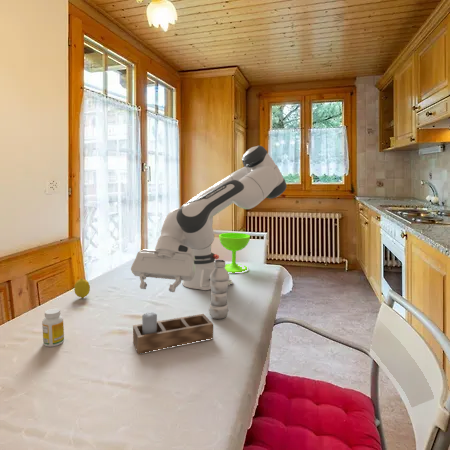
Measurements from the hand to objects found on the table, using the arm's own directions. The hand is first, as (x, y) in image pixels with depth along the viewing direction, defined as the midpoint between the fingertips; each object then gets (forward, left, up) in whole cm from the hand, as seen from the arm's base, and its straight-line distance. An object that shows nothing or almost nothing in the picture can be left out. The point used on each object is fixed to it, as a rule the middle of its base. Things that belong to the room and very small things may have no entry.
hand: (156, 289), depth 104 cm
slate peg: (+4, +7, -13) cm, 15 cm away
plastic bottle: (-22, -3, -14) cm, 26 cm away
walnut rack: (-3, +7, -14) cm, 16 cm away
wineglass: (-53, -54, -14) cm, 77 cm away
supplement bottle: (+29, -5, -14) cm, 32 cm away
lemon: (+20, -39, -14) cm, 46 cm away
